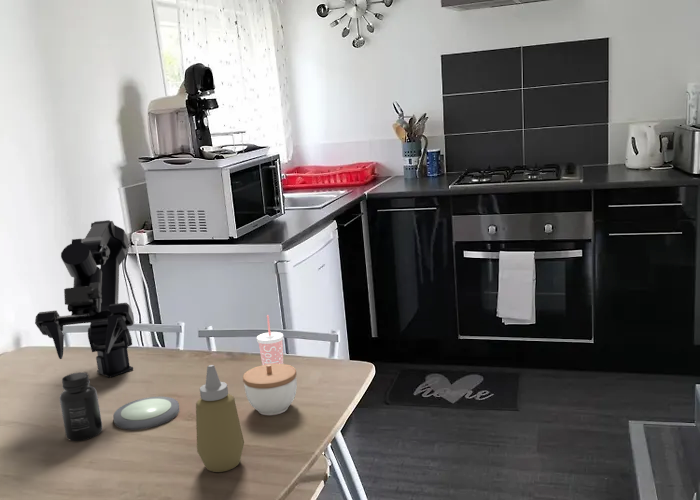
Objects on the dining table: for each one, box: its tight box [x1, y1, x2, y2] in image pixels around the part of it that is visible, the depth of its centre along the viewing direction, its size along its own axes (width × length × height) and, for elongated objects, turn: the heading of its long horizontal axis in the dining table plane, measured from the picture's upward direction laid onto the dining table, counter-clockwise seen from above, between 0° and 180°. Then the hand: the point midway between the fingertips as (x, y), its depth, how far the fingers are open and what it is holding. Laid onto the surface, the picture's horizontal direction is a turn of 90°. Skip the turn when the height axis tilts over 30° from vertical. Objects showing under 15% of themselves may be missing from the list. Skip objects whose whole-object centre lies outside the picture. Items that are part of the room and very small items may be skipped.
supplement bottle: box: [59, 371, 103, 442], centre depth 133 cm, size 7×7×12 cm
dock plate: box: [112, 396, 180, 431], centre depth 141 cm, size 13×13×1 cm
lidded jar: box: [242, 363, 298, 416], centre depth 138 cm, size 11×11×9 cm
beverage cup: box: [256, 314, 284, 365], centre depth 157 cm, size 6×6×14 cm
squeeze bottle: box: [195, 364, 245, 473], centre depth 116 cm, size 8×8×18 cm
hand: (83, 355), depth 140 cm, fingers open, 9 cm apart
